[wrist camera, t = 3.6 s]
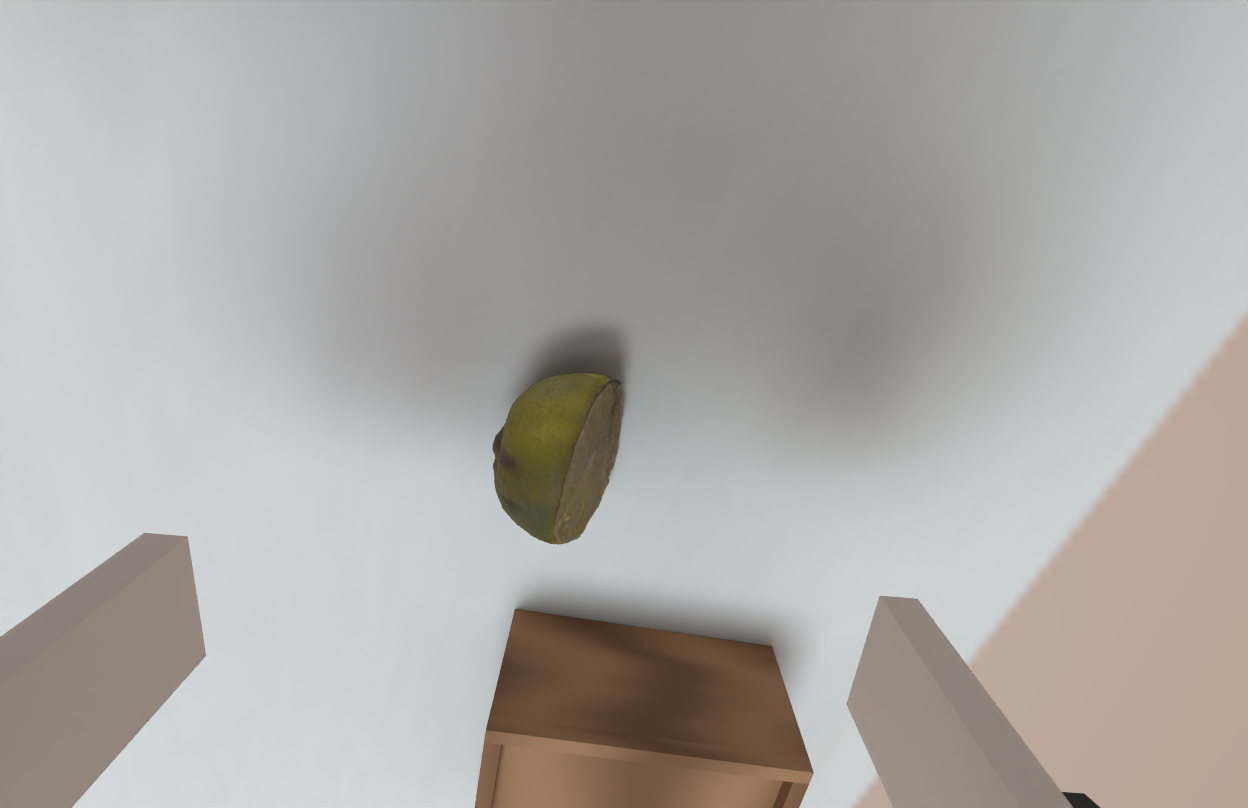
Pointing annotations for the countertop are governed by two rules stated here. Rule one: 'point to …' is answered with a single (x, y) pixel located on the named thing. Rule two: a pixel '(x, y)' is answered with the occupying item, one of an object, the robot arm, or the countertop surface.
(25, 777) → the robot arm
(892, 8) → the countertop surface
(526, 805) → the walnut tray
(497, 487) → the lime
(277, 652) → the countertop surface
